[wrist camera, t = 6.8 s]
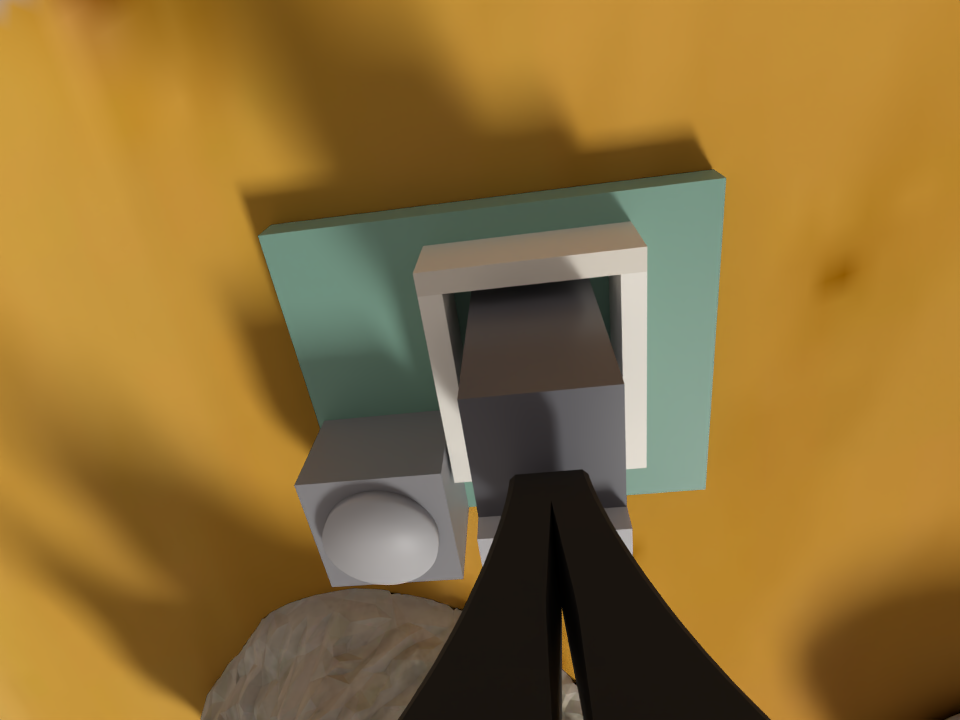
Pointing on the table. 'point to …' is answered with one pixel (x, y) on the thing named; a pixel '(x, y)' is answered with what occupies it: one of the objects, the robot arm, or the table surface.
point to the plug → (541, 396)
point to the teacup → (954, 717)
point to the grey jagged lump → (341, 660)
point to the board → (440, 344)
